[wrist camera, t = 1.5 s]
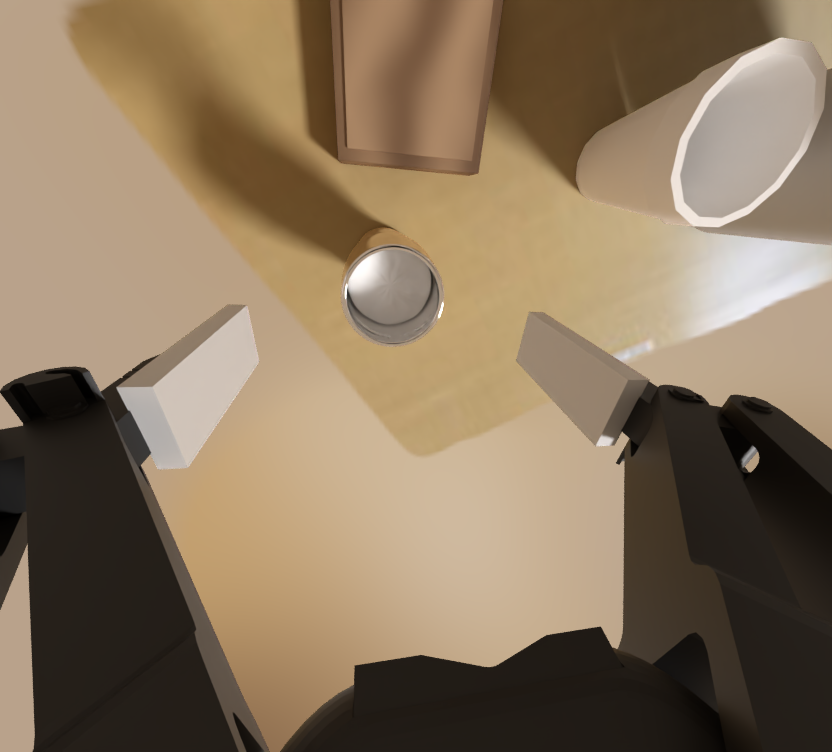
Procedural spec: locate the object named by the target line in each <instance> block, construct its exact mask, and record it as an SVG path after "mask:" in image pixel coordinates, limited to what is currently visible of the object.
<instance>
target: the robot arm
mask: <svg viewBox="0 0 832 752" xmlns="http://www.w3.org/2000/svg"><path fill="white" fill-rule="evenodd" d="M516 361H517V362H518V364H519V365H520V366H521V367H522V368H523V369H524V370H525V371H526V372H527V373H528V374H529V375H530V376H531V378H532V379H533V380H534V381H535V382H536V383H537V384H538V385H539V386H540V387H541V388H542V389H543V390H544V392H545V393H546V394H547V395H548V396H549V397H550V398H551V399H552V400H553V401H554V402H555V403H556V404H557V406H558V407H559V408H560V409H561V410H562V411H563V412H564V413H565V414H566V415H567V416H568V417H569V418H570V419H571V421H572V422H573V423H574V424H575V425H576V426H577V427H578V428H579V429H580V430H581V431H582V432H583V433H584V435H585V436H586V437H587V438H588V439H589V440H590V441H591V442H592V443H593V444H594V445H595V446H611V445H615V443H616V441H617V440H618V438H619V436H620V434H621V432H623V433H624V434H625V435H627V436H628V437H629V438H630V439H629V441H628V442H627V444H626V446H625V448H624V449H623V451H622V453H621V455H620V457H619V458H618V460H617V462H616V463H617V464H620V463H621V462H622V461H625V477H624V478H625V479H624V483H625V484H624V491H625V492H624V601H623V603H624V604H623V605H624V608H623V614H624V615H623V634H622V639H621V642H620V645H619V647H618V649H615V648H612V647H611V645H610V643H609V641H608V639H607V637H606V635H605V634H604V632H603V630H602V628H601V627H595V628H589V629H583V630H576V631H570V632H564V633H557V634H552V635H546V636H544V637H543V638H541V639H539V640H538V641H536V642H535V643H533V644H531V645H530V646H528V647H526V648H525V649H523V650H521V651H520V652H518V653H517V654H515V655H513V656H512V657H510V658H508V659H507V660H505V661H504V662H502V663H500V664H499V665H497V666H494V667H482V666H476V665H471V664H466V663H461V662H455V661H450V660H444V659H439V658H434V657H429V656H423V655H419V656H413V657H406V658H400V659H394V660H387V661H381V662H375V663H369V664H362V665H356V666H355V673H354V674H355V675H354V685H353V686H351V687H350V688H348V689H346V690H344V691H342V692H340V693H338V694H337V695H336V696H334V697H333V698H332V699H330V700H329V701H328V702H326V703H325V704H324V705H322V706H321V707H320V708H319V709H318V710H317V711H316V712H315V713H314V714H313V715H311V717H309V718H308V719H307V720H306V721H305V722H304V723H303V725H302V726H301V727H300V728H299V729H298V730H297V731H296V732H295V734H294V735H293V736H292V737H291V738H290V740H289V741H288V742H287V743H286V745H285V746H284V747H283V749H282V750H281V751H280V752H832V450H831V449H830V448H829V447H828V446H827V445H825V444H824V443H823V442H821V441H820V440H819V439H817V438H816V437H815V436H813V435H812V434H811V433H810V432H808V431H807V430H806V429H805V428H803V427H802V426H801V425H799V424H798V423H797V422H796V421H794V420H793V419H792V418H791V417H789V416H788V415H787V414H785V413H784V412H783V411H781V410H780V409H778V408H776V407H775V406H773V405H771V404H770V403H768V402H766V401H764V400H761V399H758V398H755V397H747V396H741V395H731V396H730V397H729V398H728V399H727V401H726V402H725V404H724V405H723V407H717V406H711V405H709V403H708V402H707V401H706V400H705V399H704V398H703V397H702V396H701V395H698V394H696V393H694V392H693V391H691V390H689V389H686V388H683V387H678V386H673V385H661V386H659V387H657V386H655V385H654V384H652V383H651V382H649V379H648V378H646V377H644V376H643V375H641V374H640V373H638V372H637V371H635V370H633V369H632V368H630V367H629V366H627V365H626V364H624V363H622V362H621V361H619V360H618V359H616V358H615V357H613V356H611V355H610V354H608V353H607V352H605V351H604V350H602V349H600V348H599V347H597V346H596V345H594V344H592V343H591V342H589V341H588V340H586V339H585V338H583V337H581V336H580V335H578V334H577V333H575V332H574V331H572V330H570V329H569V328H567V327H566V326H564V325H562V324H561V323H559V322H558V321H556V320H555V319H553V318H551V317H550V316H548V315H547V314H545V313H544V312H529V314H528V318H527V322H526V325H525V329H524V333H523V337H522V340H521V344H520V348H519V352H518V355H517V359H516ZM258 363H259V358H258V353H257V348H256V344H255V339H254V335H253V330H252V325H251V321H250V316H249V312H248V307H247V305H226V306H225V307H224V308H222V309H221V310H220V311H218V312H217V313H216V314H214V315H213V316H212V317H210V318H209V319H208V320H206V321H205V322H204V323H202V324H201V325H200V326H198V327H197V328H195V329H194V330H193V331H192V332H190V333H189V334H187V335H186V336H185V337H183V338H182V339H181V340H179V341H178V342H177V343H175V344H174V345H173V346H171V347H170V348H169V349H167V350H166V351H165V352H163V353H162V354H160V355H157V356H155V357H153V358H150V359H148V360H145V361H143V362H142V363H140V364H139V365H138V366H136V367H135V368H133V369H132V371H129V372H128V373H126V374H125V375H124V376H123V378H120V379H118V380H117V381H115V382H114V383H113V384H111V385H110V386H108V387H107V388H106V389H104V390H103V391H101V392H100V390H99V388H98V387H97V384H96V383H95V381H94V379H93V377H92V375H91V373H90V372H89V371H88V370H87V369H86V368H81V367H60V368H54V369H48V370H44V371H39V372H36V373H32V374H28V375H26V376H23V377H20V378H18V379H15V380H13V381H11V382H10V383H8V384H6V385H5V386H3V388H2V389H1V390H0V393H1V394H2V396H3V397H4V398H5V400H6V401H7V402H8V404H9V405H10V406H11V408H12V409H13V410H14V412H15V413H16V414H17V416H18V417H19V418H20V420H21V421H22V422H23V426H19V427H13V428H7V429H2V430H0V609H1V607H2V604H3V602H4V600H5V597H6V594H7V592H8V590H9V587H10V584H11V582H12V580H13V578H14V575H15V573H16V570H17V568H18V565H19V563H20V560H21V558H22V555H23V553H24V550H25V548H26V546H27V543H28V566H29V592H30V619H31V645H32V670H33V696H34V697H33V698H34V724H35V740H34V750H33V752H270V751H269V749H268V747H267V745H266V742H265V740H264V738H263V736H262V734H261V731H260V729H259V728H258V725H257V723H256V721H255V719H254V717H253V715H252V713H251V711H250V710H249V708H248V706H247V704H246V702H245V700H244V697H243V695H242V693H241V691H240V689H239V686H238V684H237V682H236V680H235V678H234V675H233V673H232V670H231V668H230V666H229V664H228V661H227V659H226V657H225V654H224V652H223V650H222V648H221V645H220V643H219V641H218V638H217V636H216V634H215V632H214V629H213V627H212V625H211V622H210V620H209V618H208V616H207V613H206V611H205V609H204V606H203V604H202V602H201V600H200V597H199V595H198V593H197V591H196V588H195V586H194V584H193V581H192V579H191V577H190V574H189V572H188V570H187V568H186V566H185V563H184V561H183V559H182V556H181V554H180V552H179V549H178V547H177V545H176V542H175V540H174V538H173V536H172V534H171V531H170V529H169V527H168V524H167V522H166V520H165V517H164V515H163V513H162V511H161V509H160V506H159V504H158V501H157V499H156V497H155V495H154V492H153V490H152V488H151V485H150V483H149V481H148V479H147V477H146V474H145V472H144V470H143V469H142V467H141V464H142V463H143V462H144V461H145V460H146V458H147V457H148V456H149V455H151V457H152V458H153V460H154V462H155V464H156V466H157V468H158V469H177V468H188V467H189V466H190V464H191V463H192V461H193V460H194V458H195V457H196V455H197V454H198V452H199V451H200V449H201V448H202V446H203V445H204V443H205V442H206V440H207V439H208V437H209V436H210V434H211V433H212V431H213V430H214V428H215V427H216V425H217V424H218V422H219V421H220V420H221V418H222V416H223V415H224V414H225V412H226V411H227V409H228V408H229V406H230V405H231V403H232V402H233V400H234V399H235V397H236V396H237V394H238V393H239V391H240V390H241V388H242V387H243V385H244V384H245V382H246V381H247V379H248V378H249V376H250V375H251V373H252V372H253V370H254V369H255V367H256V366H257V364H258ZM757 452H758V453H759V457H760V458H759V463H758V465H757V466H756V468H755V469H754V470H753V471H752V472H751V473H750V472H748V470H747V469H746V468H745V466H746V464H747V463H748V462H749V461H750V460H751V459H752V457H753V456H754V455H755V454H756V453H757Z"/></svg>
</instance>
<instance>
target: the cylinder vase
mask: <svg viewBox="0 0 832 752" xmlns="http://www.w3.org/2000/svg"><path fill="white" fill-rule="evenodd" d="M694 227H695V228H697V229H699V230H701V231H703V232H707V233H715V234H725V235H734V236H744V237H754V238H764V239H774V240H784V241H794V242H803V243H813V244H823V245H832V69H828V70H827V74H826V88H825V102H824V110H823V112H822V114H821V117H820V119H819V122H818V124H817V126H816V129H815V131H814V134H813V136H812V138H811V141H810V143H809V146H808V148H807V150H806V152H805V153H804V155H803V156H802V157H801V159H800V160H799V162H798V163H797V164H796V166H795V167H794V168H793V170H792V171H791V172H790V174H789V175H788V177H787V178H786V179H785V181H784V182H783V183H782V185H781V186H780V188H778V189H777V190H776V191H775V192H774V193H773V194H771V195H770V196H769V197H768V198H767V199H766V200H764V201H763V202H762V203H761V204H760V205H759V206H757V207H756V208H755V209H754V210H753V211H752V212H750V213H749V214H748V215H745V216H743V217H741V218H739V219H736V220H734V221H732V222H729V223H727V224H725V225H723V226H720V227H700V226H694Z"/></svg>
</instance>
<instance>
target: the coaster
mask: <svg viewBox="0 0 832 752" xmlns="http://www.w3.org/2000/svg"><path fill="white" fill-rule="evenodd" d="M502 7H503V0H330V8H331V28H332V47H333V67H334V87H335V107H336V127H337V147H338V160H339V161H340V162H341V163H344V164H354V165H364V166H375V167H385V168H395V169H405V170H416V171H426V172H436V173H447V174H457V175H467V176H469V175H474V174H478V172H479V165H480V158H481V151H482V145H483V138H484V131H485V124H486V117H487V110H488V103H489V96H490V90H491V83H492V76H493V69H494V62H495V55H496V48H497V41H498V35H499V28H500V21H501V14H502Z"/></svg>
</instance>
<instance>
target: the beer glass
mask: <svg viewBox="0 0 832 752" xmlns="http://www.w3.org/2000/svg"><path fill="white" fill-rule="evenodd" d="M341 303H342V308H343V311H344V314H345V316H346V318H347V320H348V322H349V324H350V325H351V326H352V328H353V329H354V330H355V331H356V332H357V333H358V334H359V335H360V336H362V337H363V338H365V339H366V340H368V341H370V342H372V343H375V344H378V345H382V346H388V347H397V346H404V345H408V344H411V343H413V342H415V341H417V340H419V339H421V338H422V337H424V336H425V335H426V334H427V333H428V332H429V331H430V330H431V329H432V328H433V327H434V325H435V324H436V322H437V321H438V319H439V317H440V315H441V312H442V309H443V304H444V287H443V282H442V279H441V276H440V274H439V272H438V270H437V268H436V267H435V265H434V263H433V261H432V260H431V258H430V256H429V255H428V254H427V253H426V251H425V250H424V249H423V248H422V247H421V246H420V245H419V244H418V243H417V242H415V241H414V240H412V239H411V238H409V237H407V236H405V235H403V234H401V233H399V232H398V231H396V230H394V229H391V228H386V227H380V228H375V229H372V230H370V231H368V232H367V233H366V234H364V235H363V236H362V238H361V239H360V240H359V242H358V244H357V245H356V246H355V247H354V249H353V250H352V251H351V253H350V255H349V256H348V258H347V260H346V263H345V266H344V270H343V274H342V286H341Z"/></svg>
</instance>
